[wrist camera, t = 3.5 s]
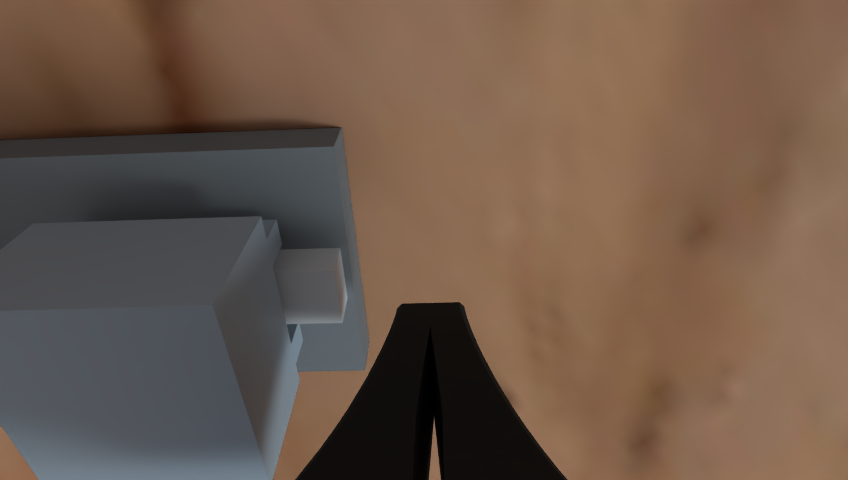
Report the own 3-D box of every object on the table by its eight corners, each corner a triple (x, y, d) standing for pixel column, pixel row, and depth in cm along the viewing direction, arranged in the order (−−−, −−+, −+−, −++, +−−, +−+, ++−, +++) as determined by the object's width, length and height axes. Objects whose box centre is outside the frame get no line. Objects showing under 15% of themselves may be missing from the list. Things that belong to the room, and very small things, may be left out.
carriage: (306, 356, 15) (271, 485, 12) (130, 360, 15) (45, 489, 12) (271, 196, 12) (212, 305, 9) (57, 203, 12) (-79, 313, 9)
